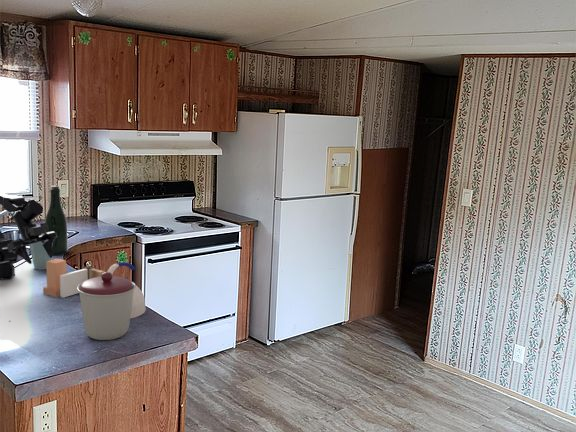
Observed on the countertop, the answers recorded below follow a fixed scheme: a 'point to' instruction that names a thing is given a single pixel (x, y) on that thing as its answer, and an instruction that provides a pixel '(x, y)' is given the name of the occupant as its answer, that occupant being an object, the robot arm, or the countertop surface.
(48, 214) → the beer bottle
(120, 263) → the kettle
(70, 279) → the door
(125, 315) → the canister
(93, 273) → the door frame
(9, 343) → the countertop surface
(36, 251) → the disposable coffee cup
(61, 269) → the tan square pedestal
